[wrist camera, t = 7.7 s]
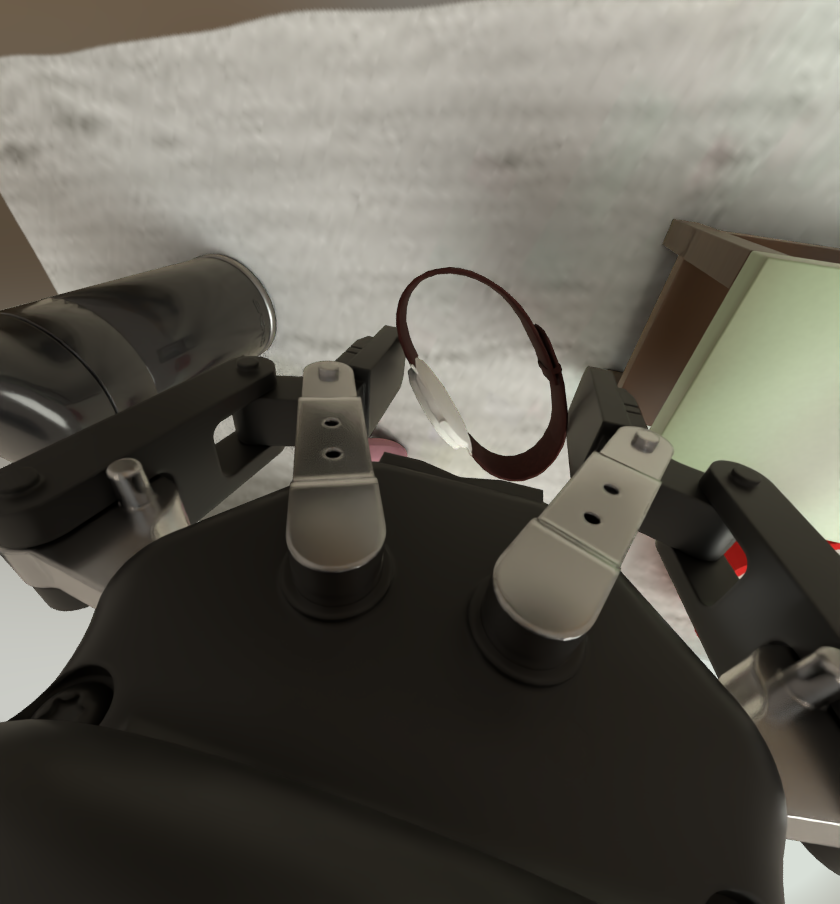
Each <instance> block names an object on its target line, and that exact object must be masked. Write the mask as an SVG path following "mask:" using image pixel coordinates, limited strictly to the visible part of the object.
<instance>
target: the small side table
mask: <svg viewBox="0 0 840 904" xmlns="http://www.w3.org/2000/svg"><path fill="white" fill-rule="evenodd" d="M662 245H664V246H665V247H667V248H668V249H670V250H671V251H673V252H674V253H676V254H677V255H678V257H677V260H676V262H675V264H674V266H673V268H672V270H671V272H670V274H669V277H668V279H667V281H666V283H665V285H664V287H663V289H662V291H661V294H660V296H659V298H658V300H657V302H656V304H655V306H654V308H653V311H652V313H651V315H650V317H649V319H648V321H647V323H646V325H645V328H644V330H643V332H642V334H641V336H640V338H639V340H638V342H637V345H636V347H635V349H634V351H633V353H632V355H631V357H630V359H629V362H628V364H627V366H626V368H625V370H624V372H623V373H622V372H617V371H612V370H610V371H612V372H613V374H614V377H615V380H616V382H617V385H618V388H623V389H626V390H627V391H628V392H629V393H630V394H631V395H632V396H633V397H634V398H635V400H636V402H637V405H638V408H639V410H640V412H641V415H642V417H643V419H644V422H645V424H646V427H647V425H648V426H651V428H650V430H651V431H653V432H655V433H657V434H659V435H661V436H662V437H664V438H665V439H667V440H668V441H669V442H670V443H671V444H672V446H673V448H674V454H673V456H672V459H673V460H675V461H677V462H679V463H682V464H684V465H687V466H689V467H692V468H694V469H697V470H699V471H702V472H706V470H707V469H708V468H709V466H710V465H711V464H712V463H713V462H714V461H718V460H726V461H732V462H736V463H739V464H742V465H745V466H747V467H750V468H752V469H754V470H755V471H757V472H759V473H761V474H762V475H764V476H765V477H766V478H768V479H769V480H770V481H771V482H772V483H773V484H774V485H775V486H776V487H777V488H778V489H779V490H780V491H781V492H782V494H783V495H784V496H785V497H786V498H787V499H788V500H789V501H790V502H791V503H792V504H793V505H794V506H795V508H796V509H797V510H798V511H799V512H800V513H801V514H802V515H803V516H804V517H805V518H806V519H807V520H808V522H809V523H810V524H811V525H812V526H813V527H814V528H815V529H816V530H817V531H818V532H819V533H820V534H821V536H822V537H823V538H824V539H825V540H828V541H832V542H836V543H840V248H834V247H827V246H820V245H814V244H807V243H800V242H794V241H787V240H780V239H774V238H767V237H760V236H754V235H747V234H740V233H734V232H727V231H720V230H717V229H715V228H712V227H709V226H706V225H703V224H701V223H698V222H692V221H685V220H678V219H673V221H672V223H671V225H670V228H669V230H668V232H667V235H666V237H665V239H664V241H663V244H662ZM647 429H648V428H647Z"/></svg>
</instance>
